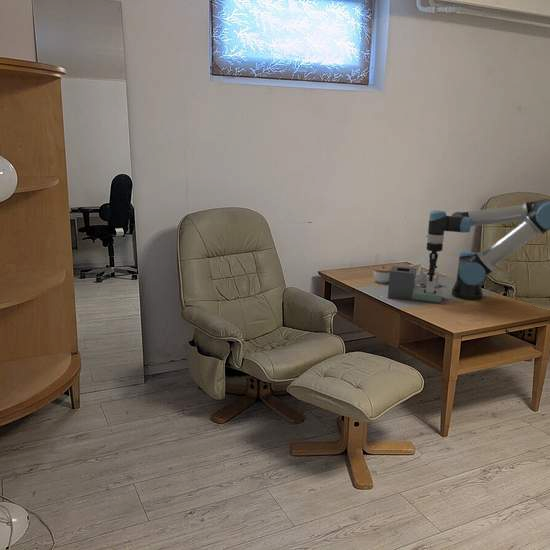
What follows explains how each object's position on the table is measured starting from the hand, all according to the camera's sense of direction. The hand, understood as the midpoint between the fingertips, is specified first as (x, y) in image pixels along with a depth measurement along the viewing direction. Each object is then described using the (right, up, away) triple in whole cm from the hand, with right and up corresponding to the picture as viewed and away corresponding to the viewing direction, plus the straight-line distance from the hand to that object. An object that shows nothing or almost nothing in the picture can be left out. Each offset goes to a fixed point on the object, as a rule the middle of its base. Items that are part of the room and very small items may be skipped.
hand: (430, 284), depth 271 cm
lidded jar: (-18, +1, +32) cm, 37 cm away
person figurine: (+3, -2, +26) cm, 27 cm away
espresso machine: (-7, -7, +4) cm, 11 cm away
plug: (0, -7, +2) cm, 7 cm away
